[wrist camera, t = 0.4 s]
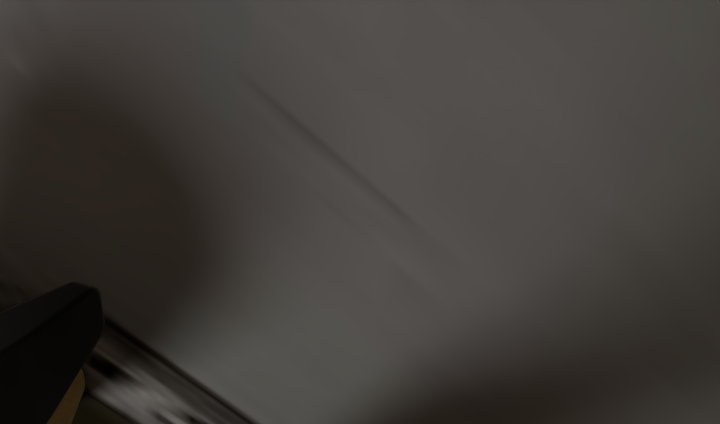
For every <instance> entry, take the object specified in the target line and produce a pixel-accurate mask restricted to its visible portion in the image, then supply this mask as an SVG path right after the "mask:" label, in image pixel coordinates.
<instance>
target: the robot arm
mask: <svg viewBox="0 0 720 424" xmlns="http://www.w3.org/2000/svg"><path fill="white" fill-rule="evenodd" d="M104 324H105V320H104V314H103V307H102V300H101V294H100V291H99V290H98V289H97V288H96V287H93V286H90V285H87V284H83V283H80V282H71V283H68V284H66V285H63V286H61V287H58V288H56V289H54V290H51V291H49V292H47V293H44V294H42V295H39V296H37V297H35V298H32V299H30V300H28V301H25V302H23V303H20V304H18V305H16V306H13V307H11V308H9V309H6V310H4V311H1V312H0V424H47V422H48V421H49V419H50V418H51V417H52V415H53V414H54V412H55V411H56V409H57V407H58V406H59V404H60V403H61V401H62V399H63V398H64V396H65V395H66V393H67V391H68V390H69V388H70V386H71V385H72V383H73V381H74V380H75V378H76V376H77V375H78V373H79V372H80V370H81V368H82V367H83V365H84V363H85V362H86V360H87V358H88V357H89V355H90V353H91V352H92V350H93V349H94V347H95V345H96V344H97V342H98V340H99V339H100V337H101V335H102V333H103V330H104Z"/></svg>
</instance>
